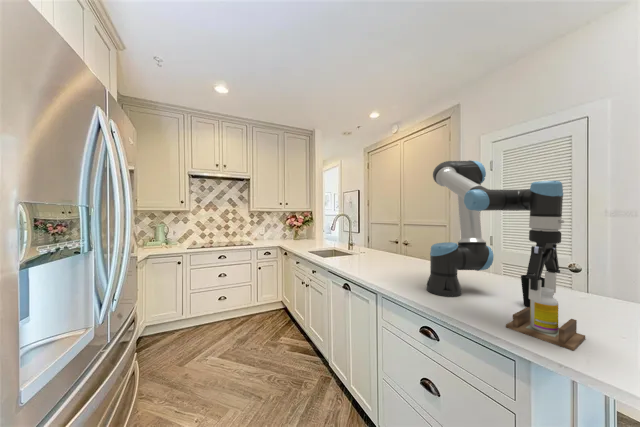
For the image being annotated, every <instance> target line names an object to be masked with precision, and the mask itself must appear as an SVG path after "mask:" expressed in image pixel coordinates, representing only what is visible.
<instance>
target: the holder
mask: <svg viewBox="0 0 640 427" xmlns="http://www.w3.org/2000/svg"><path fill="white" fill-rule="evenodd" d="M505 328H507V329H508V330H513V331H515V332H518V333H521V334H525V335H527V336H530V337H533V338H536V339H537V340H542V341H544V342H547V343H551V344H553V345H555V344H556V346H558V345H559V347H561V346H562V348H564V347H565V349H567V348H568V349H567V350H570V351H574V352H575V350H576V349H577V348H578V347H579V346H580V345H581V344H582V343H583V342H584V341H585V340H586V335H585V334H583V333H582V334H581V333H578V332H577V319H575V318H569V320H568V321H566V322H565V323H563V325H561V326H559V327H558V332H557V333H546V332H542V331H539V330H536V329H534V328H533V327H532V326H531V325H530V307H526V306H525V308H522V309H521V310H519V311H517V312H515V313H513V314H512V320H511V321H509V322H508V323H506V324H505Z"/></svg>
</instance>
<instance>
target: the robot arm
mask: <svg viewBox="0 0 640 427" xmlns="http://www.w3.org/2000/svg"><path fill="white" fill-rule="evenodd" d="M486 177H487V172H486V168H485V166H484V165H483V163H482V162H480V161H478V160H472V159H471V160H470V159H469V160H446V161H442V162H440V163H439V164H438V165H436V166H435V168H434V169H433V171H432V178H433V181H434V182H435V183H436V184H437V185H439V186H441V187H445V188H447V189H448V190H450V191H451V192H453V193H454V194H456V195H457V200H458V201H457V202H458V203H457V204H458V216H459V228H460V229H459V230H460V239H459V240H458V241H457V242H452V241H451V242H436V243H434V244H432V245H431V247H430V251H429V252H430V253H429V256H430V262H429V263H430V274H429V277H428V279H427V283H426V286H425V287H426V288H425V289H426V291H427V292H429V293H430V294H433V295H437V296H442V297H452V298H453V297H459V296H461V295H462V287H461V284H460V281H459V278H458V271H477V272H478V271H486V270H488V269H489V268H491V266H492V264H493V262H494V256H495V254H494V252H493V250H492V248H491V247H490V246H488V245H487V241H485V240H484V239H483V237H482V225H481V215H480V214H481V212H482V211H483V212H484V211H485V212H486V211H487V212H488V211H510V212H511V211H514V212H515V211H516V212H517V211H522V212H524V211H525V212H528V211H529V219H528V220H529V222H528V225H529V226H528V228H530V230H529V231H528V232H529V233H528V240H529V241H530V242H534V243H536V244H535V245H534V246H533V245H532V246H531V247H530V256H529V261H528V266H527V269H526V274H525V275H526V276H525V277H526V278H529V299H531V300H535V301H539V302H541V282H542V280H540V278H541V277H542V274H543V271H544V268H545V271H544V278H545V287H544V288H549V289H552V290H554V294H556V293H557V274H561V270H560V267H559V266H560V265H559V257H558V252H557V250H558V249H557V244H558V245H559V244H560V243H562V231H560V230H562V224H565V220H564V219H563V218H562V216H563V215H562V214H563V202H564V201H563V200H564V199H563V198H564V187H563V183H562V181H560V180H542V181H533V182H531V184H530V187H529V188H524V189H522V188H521V189H489V188H486V187H485V186H483V185H482V183H484V182H485V180H486Z"/></svg>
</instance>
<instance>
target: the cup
mask: <svg viewBox="0 0 640 427" xmlns="http://www.w3.org/2000/svg"><path fill="white" fill-rule="evenodd" d="M525 276H526V274H523V275H522V274H521V275H520V280H521V290H522V291H521V292H522V299H523V301H522V302H523V306H524V307H525V308H526V307H530V299H529V278H526V277H525ZM540 280H542V282H541V287H545V277H543V276H541V278H540Z"/></svg>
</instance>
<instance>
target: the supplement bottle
mask: <svg viewBox="0 0 640 427" xmlns="http://www.w3.org/2000/svg"><path fill="white" fill-rule="evenodd" d="M554 295H555V293H554V290H552V289H549V288H544V287H541V302H539V301H535V300H531V299H530V325H531V326H532V327H533V328H534V329H536V330H539V331H542V332H546V333H557V332H558V328H559V301H558V299H557V298H555V297H554Z"/></svg>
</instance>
